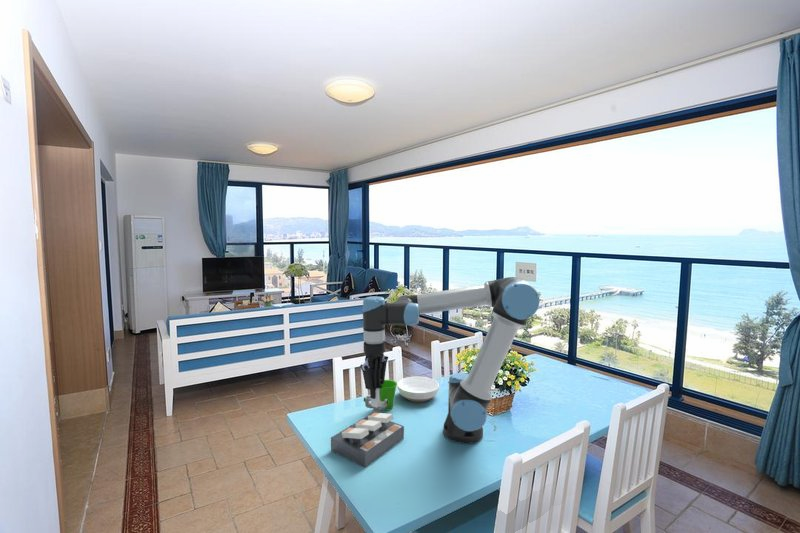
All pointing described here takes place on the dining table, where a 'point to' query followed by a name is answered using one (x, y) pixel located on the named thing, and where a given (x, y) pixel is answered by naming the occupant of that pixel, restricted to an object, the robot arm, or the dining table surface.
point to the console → (368, 443)
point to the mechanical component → (375, 410)
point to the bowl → (418, 388)
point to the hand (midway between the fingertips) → (375, 405)
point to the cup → (388, 393)
